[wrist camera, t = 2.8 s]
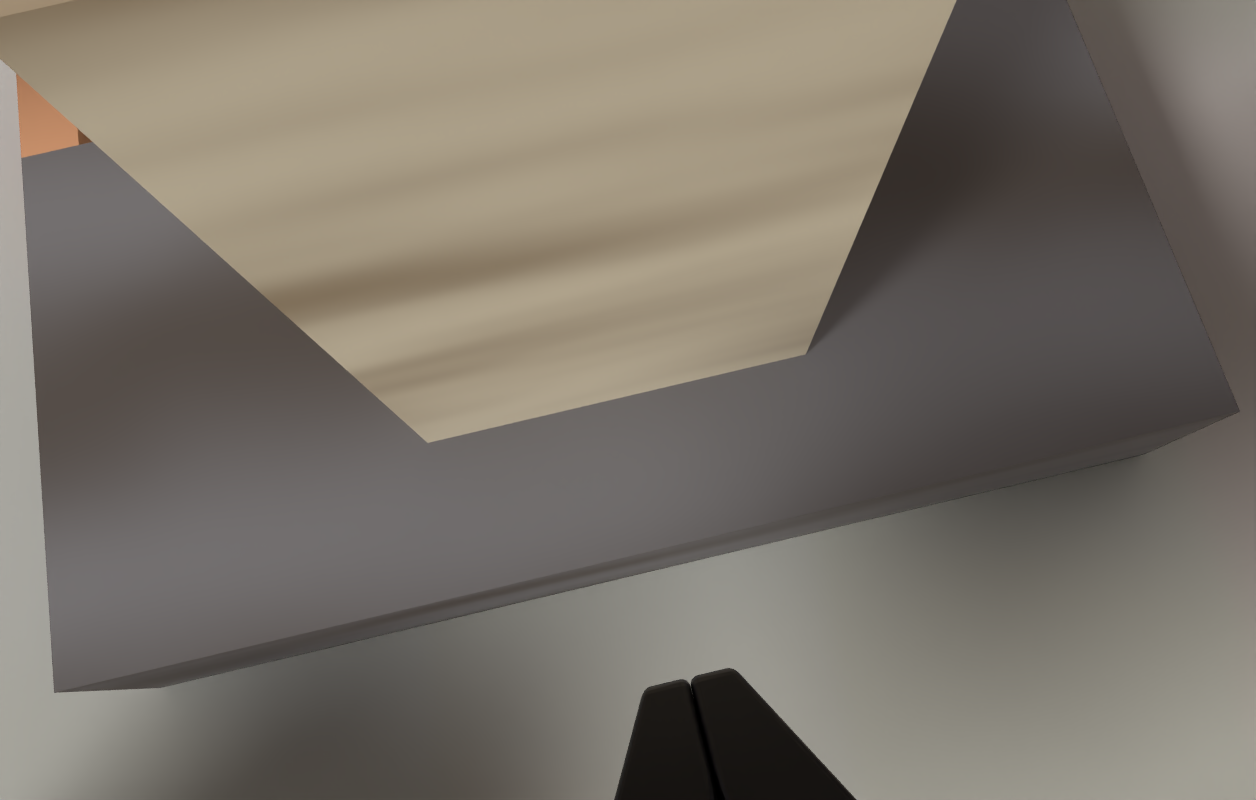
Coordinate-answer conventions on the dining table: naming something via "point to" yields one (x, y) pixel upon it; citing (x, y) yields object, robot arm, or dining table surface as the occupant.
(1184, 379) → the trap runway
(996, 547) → the dining table surface
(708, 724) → the robot arm
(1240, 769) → the dining table surface
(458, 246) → the birch block
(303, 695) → the dining table surface
